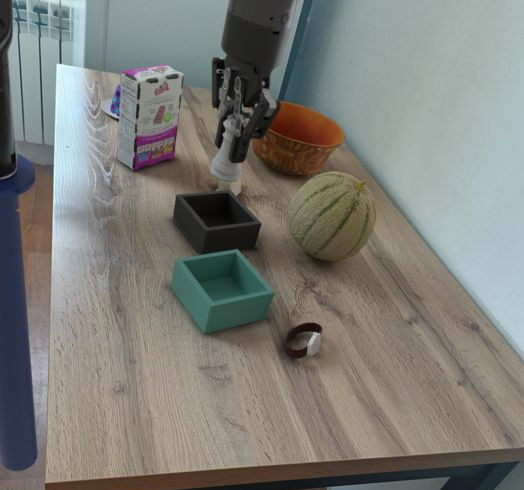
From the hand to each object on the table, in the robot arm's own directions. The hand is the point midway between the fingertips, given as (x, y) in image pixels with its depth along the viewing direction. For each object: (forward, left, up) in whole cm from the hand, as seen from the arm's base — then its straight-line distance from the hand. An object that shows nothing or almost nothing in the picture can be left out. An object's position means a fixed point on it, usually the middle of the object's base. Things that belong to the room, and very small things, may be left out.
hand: (229, 154), depth 73 cm
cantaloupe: (+23, -2, -19) cm, 29 cm away
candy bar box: (+4, +33, -19) cm, 39 cm away
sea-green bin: (-2, -9, -19) cm, 21 cm away
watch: (+4, -21, -19) cm, 28 cm away
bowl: (+36, +28, -19) cm, 49 cm away
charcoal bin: (+5, +7, -19) cm, 21 cm away
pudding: (+9, +53, -19) cm, 57 cm away
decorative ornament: (+15, +19, -19) cm, 31 cm away
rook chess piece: (0, 0, -3) cm, 3 cm away
